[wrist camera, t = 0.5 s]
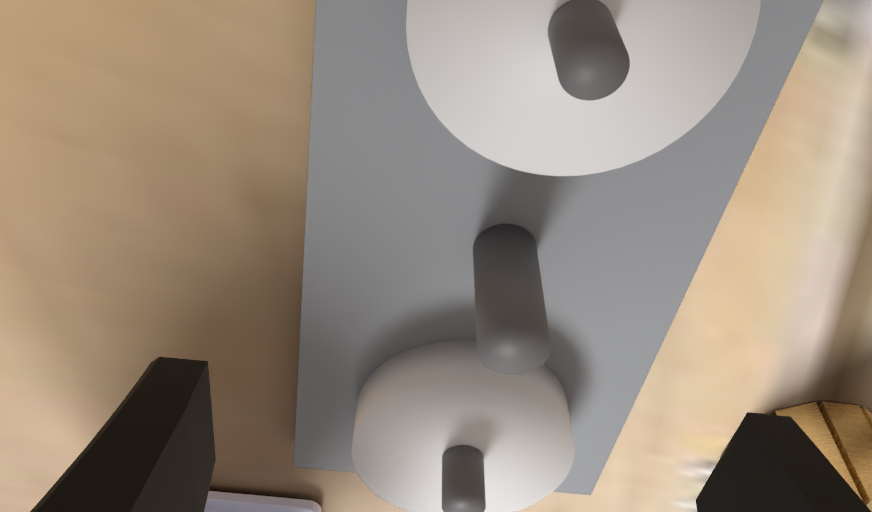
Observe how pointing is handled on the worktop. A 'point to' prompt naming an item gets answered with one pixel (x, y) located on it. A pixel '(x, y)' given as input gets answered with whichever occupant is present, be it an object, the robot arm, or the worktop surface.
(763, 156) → the worktop surface
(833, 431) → the brass gear
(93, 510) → the robot arm
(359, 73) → the gear board
